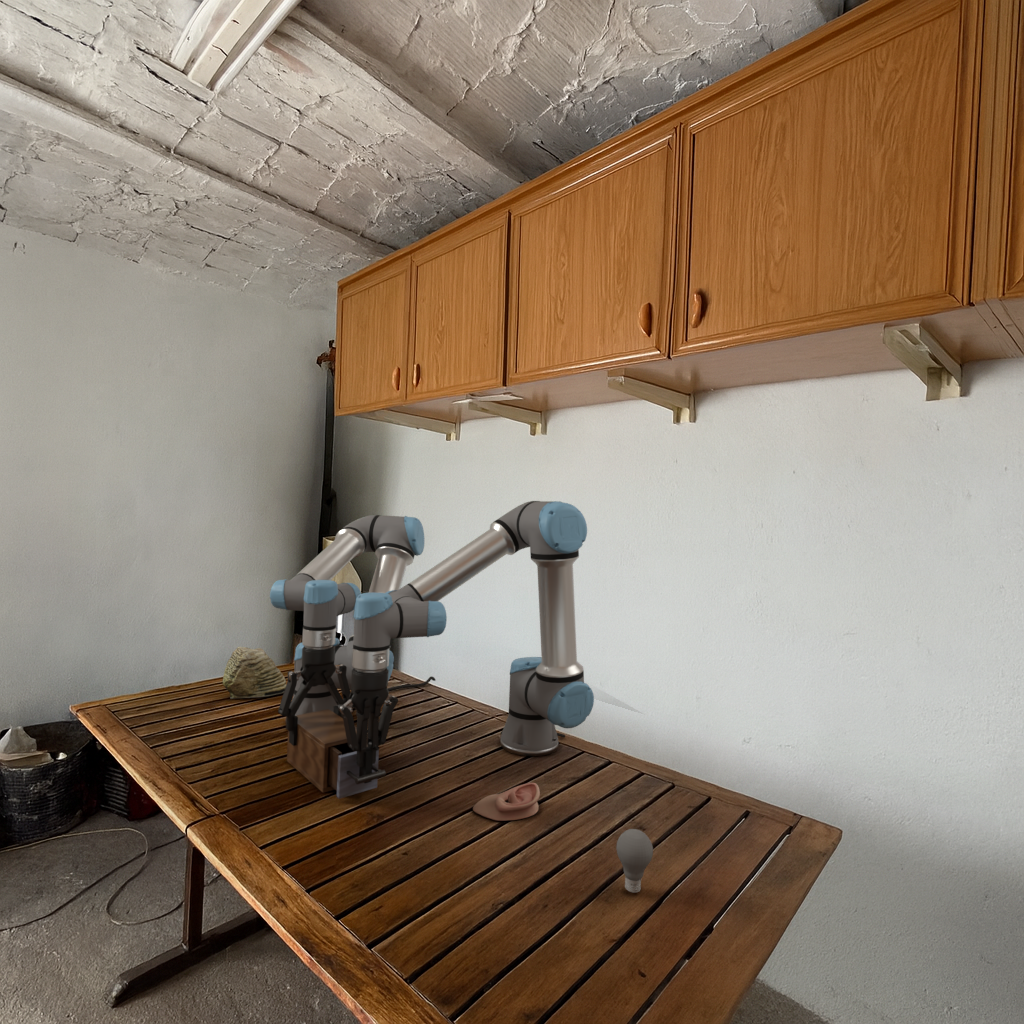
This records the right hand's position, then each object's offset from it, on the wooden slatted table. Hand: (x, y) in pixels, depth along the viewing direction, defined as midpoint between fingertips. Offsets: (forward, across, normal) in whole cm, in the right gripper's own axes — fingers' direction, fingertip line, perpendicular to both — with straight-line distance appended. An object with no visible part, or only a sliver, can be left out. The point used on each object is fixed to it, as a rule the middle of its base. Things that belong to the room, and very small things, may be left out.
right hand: (365, 780), depth 132 cm
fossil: (+5, +5, +82) cm, 83 cm away
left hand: (-1, 0, +25) cm, 25 cm away
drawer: (+4, 0, +9) cm, 10 cm away
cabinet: (+5, 0, +19) cm, 19 cm away
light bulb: (+4, +22, -53) cm, 58 cm away
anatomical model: (+5, +22, -20) cm, 30 cm away
